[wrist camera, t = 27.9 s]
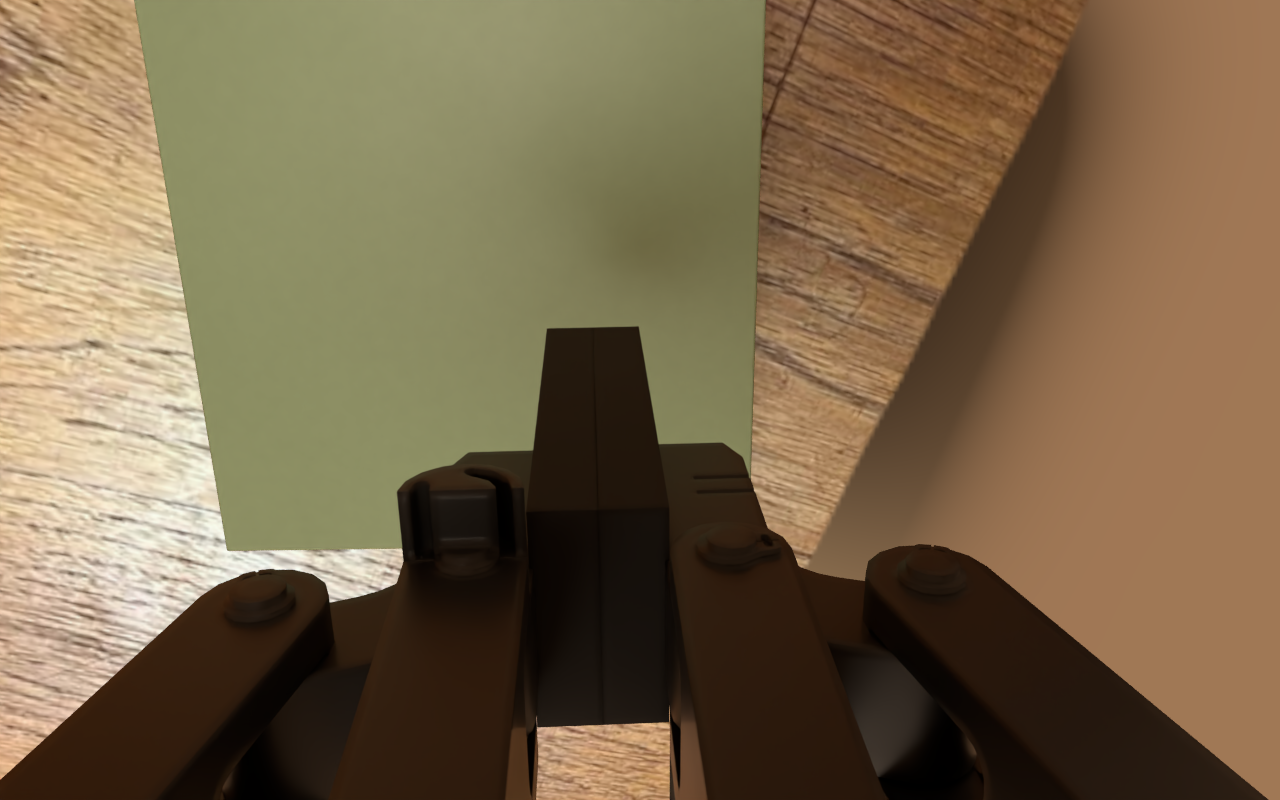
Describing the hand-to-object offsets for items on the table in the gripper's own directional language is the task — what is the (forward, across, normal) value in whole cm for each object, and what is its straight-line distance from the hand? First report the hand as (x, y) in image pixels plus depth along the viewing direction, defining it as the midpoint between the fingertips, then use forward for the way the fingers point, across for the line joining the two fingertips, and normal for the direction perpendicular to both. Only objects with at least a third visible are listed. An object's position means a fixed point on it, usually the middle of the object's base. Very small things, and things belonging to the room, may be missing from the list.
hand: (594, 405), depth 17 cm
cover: (+10, -3, 0) cm, 11 cm away
